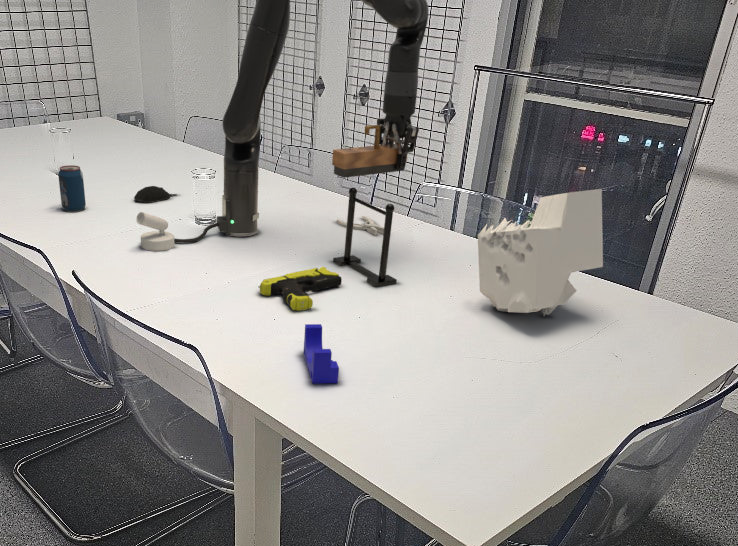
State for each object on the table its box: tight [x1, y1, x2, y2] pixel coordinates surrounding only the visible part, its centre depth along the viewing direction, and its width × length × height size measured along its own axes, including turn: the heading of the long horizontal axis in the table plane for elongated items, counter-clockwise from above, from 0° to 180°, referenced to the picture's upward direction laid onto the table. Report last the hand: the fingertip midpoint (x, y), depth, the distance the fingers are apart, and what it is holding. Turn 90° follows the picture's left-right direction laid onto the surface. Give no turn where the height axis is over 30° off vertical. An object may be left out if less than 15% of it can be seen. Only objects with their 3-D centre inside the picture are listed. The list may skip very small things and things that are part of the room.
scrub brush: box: [331, 124, 409, 179], centre depth 176 cm, size 18×5×11 cm, turn 117°
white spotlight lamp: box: [135, 211, 175, 252], centre depth 191 cm, size 9×10×10 cm
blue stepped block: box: [303, 323, 340, 385], centre depth 135 cm, size 12×4×6 cm, turn 5°
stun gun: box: [257, 266, 343, 312], centre depth 167 cm, size 3×19×15 cm
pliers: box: [336, 215, 384, 236], centre depth 212 cm, size 10×2×15 cm
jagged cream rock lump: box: [477, 188, 604, 317], centre depth 157 cm, size 20×16×25 cm
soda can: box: [57, 164, 87, 213], centre depth 217 cm, size 7×7×12 cm
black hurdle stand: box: [332, 187, 398, 288], centre depth 176 cm, size 6×19×18 cm, turn 27°
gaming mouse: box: [133, 185, 177, 203], centre depth 232 cm, size 6×15×4 cm, turn 128°
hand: (393, 166), depth 181 cm, fingers closed on scrub brush, 5 cm apart
